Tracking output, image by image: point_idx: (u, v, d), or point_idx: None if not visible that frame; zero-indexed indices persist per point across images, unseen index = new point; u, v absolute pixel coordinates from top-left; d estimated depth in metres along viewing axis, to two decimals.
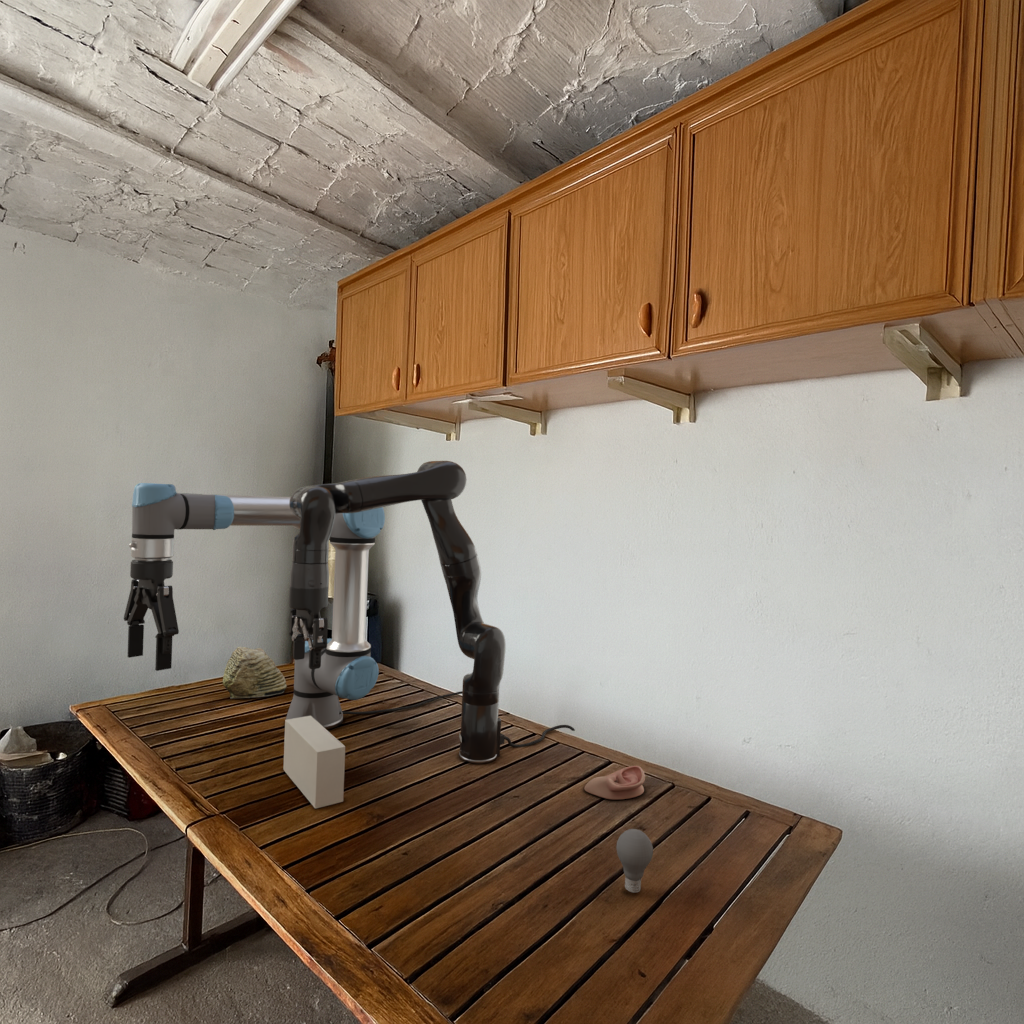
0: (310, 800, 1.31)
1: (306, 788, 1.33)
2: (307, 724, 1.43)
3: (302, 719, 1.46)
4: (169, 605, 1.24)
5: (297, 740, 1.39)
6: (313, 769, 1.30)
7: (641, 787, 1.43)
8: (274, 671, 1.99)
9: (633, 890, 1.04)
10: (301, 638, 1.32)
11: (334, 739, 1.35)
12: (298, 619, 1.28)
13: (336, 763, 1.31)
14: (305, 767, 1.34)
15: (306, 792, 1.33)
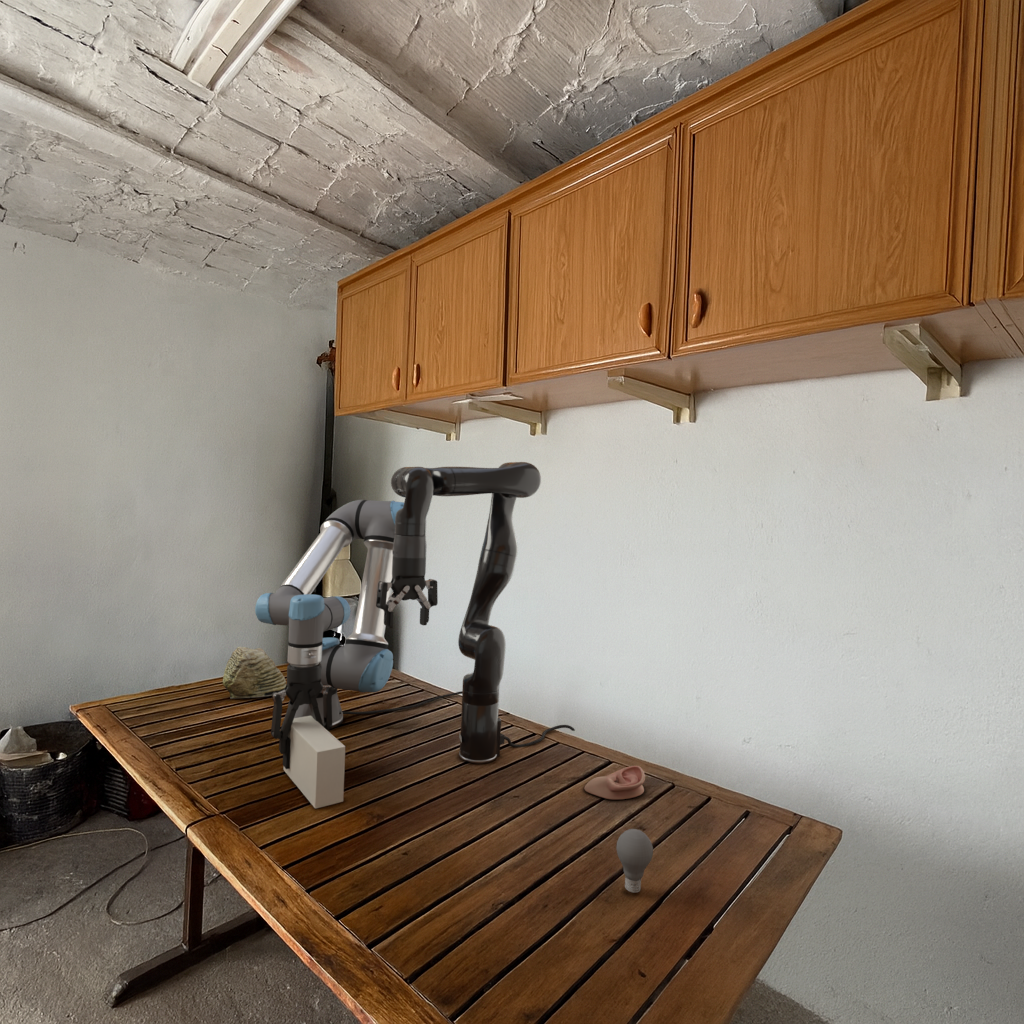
0: (310, 800, 1.31)
1: (306, 788, 1.33)
2: (307, 724, 1.43)
3: (302, 719, 1.46)
4: None
5: (297, 740, 1.39)
6: (313, 769, 1.30)
7: (641, 787, 1.43)
8: (274, 671, 1.99)
9: (633, 890, 1.04)
10: (424, 606, 1.46)
11: (334, 739, 1.35)
12: None
13: (336, 763, 1.31)
14: (305, 767, 1.34)
15: (306, 792, 1.33)
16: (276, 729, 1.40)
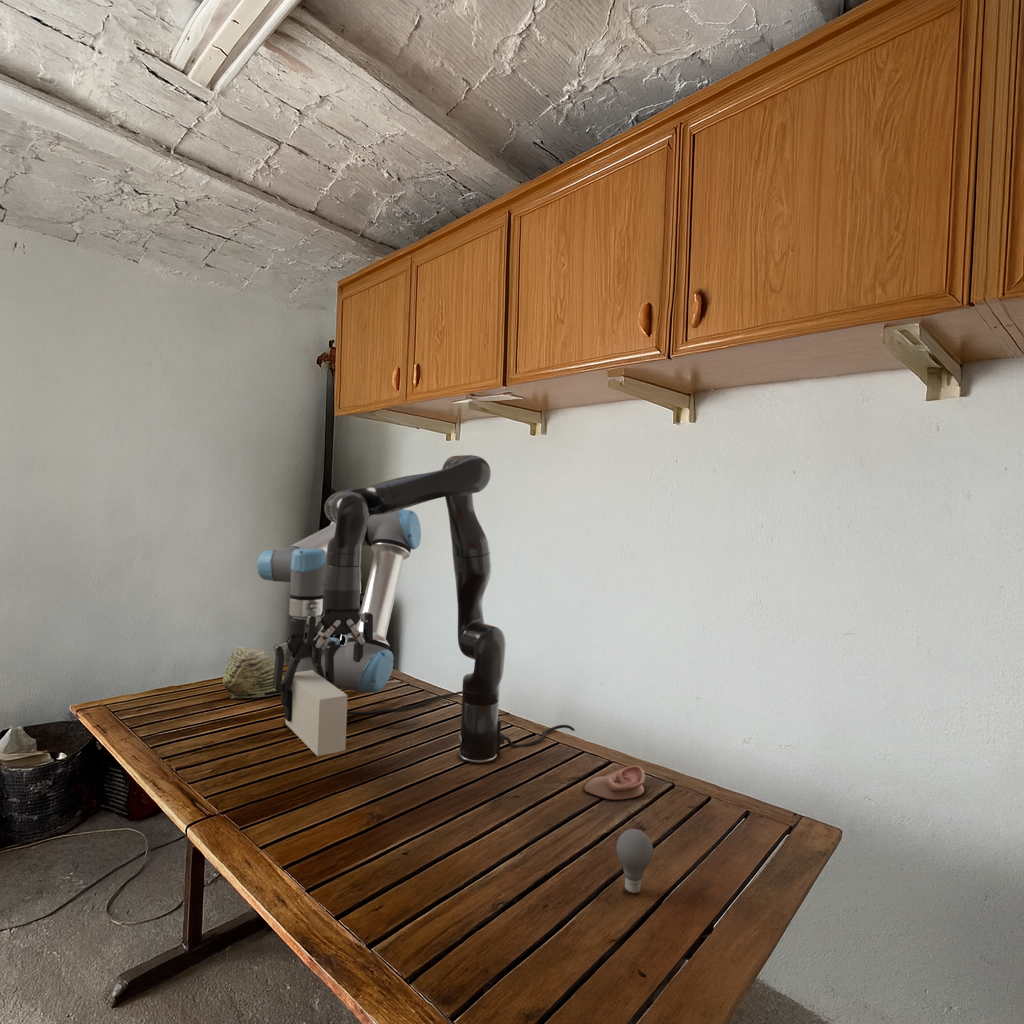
0: (312, 748, 1.31)
1: (308, 738, 1.33)
2: (309, 677, 1.43)
3: (304, 673, 1.46)
4: None
5: (299, 691, 1.38)
6: (316, 717, 1.30)
7: (641, 787, 1.43)
8: None
9: (633, 890, 1.04)
10: (357, 641, 1.35)
11: (336, 689, 1.35)
12: None
13: (338, 712, 1.31)
14: (307, 716, 1.34)
15: (308, 741, 1.33)
16: (278, 681, 1.40)
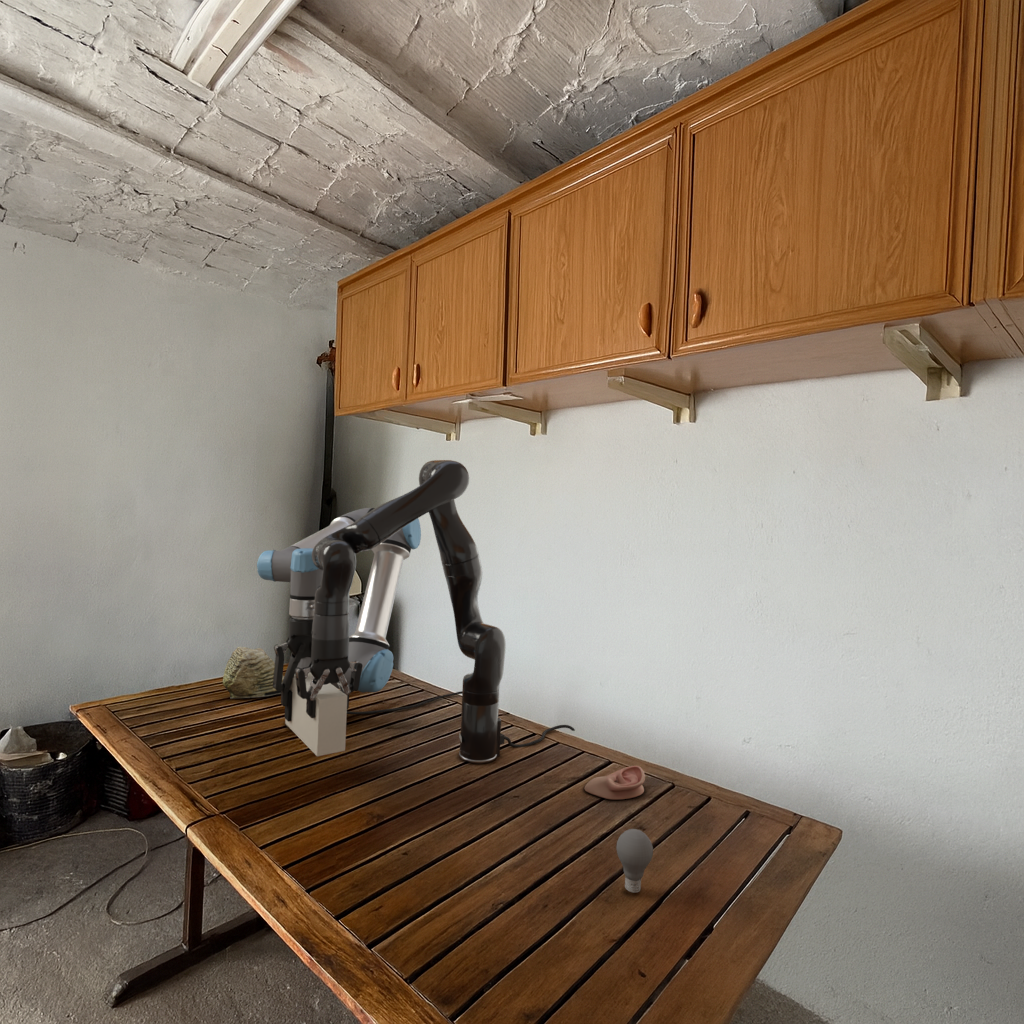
0: (312, 749, 1.31)
1: (308, 738, 1.33)
2: (309, 677, 1.43)
3: None
4: None
5: None
6: (315, 717, 1.30)
7: (641, 787, 1.43)
8: None
9: (633, 890, 1.04)
10: (343, 691, 1.34)
11: (336, 689, 1.35)
12: None
13: (338, 712, 1.31)
14: (307, 717, 1.34)
15: (307, 741, 1.33)
16: (278, 681, 1.40)
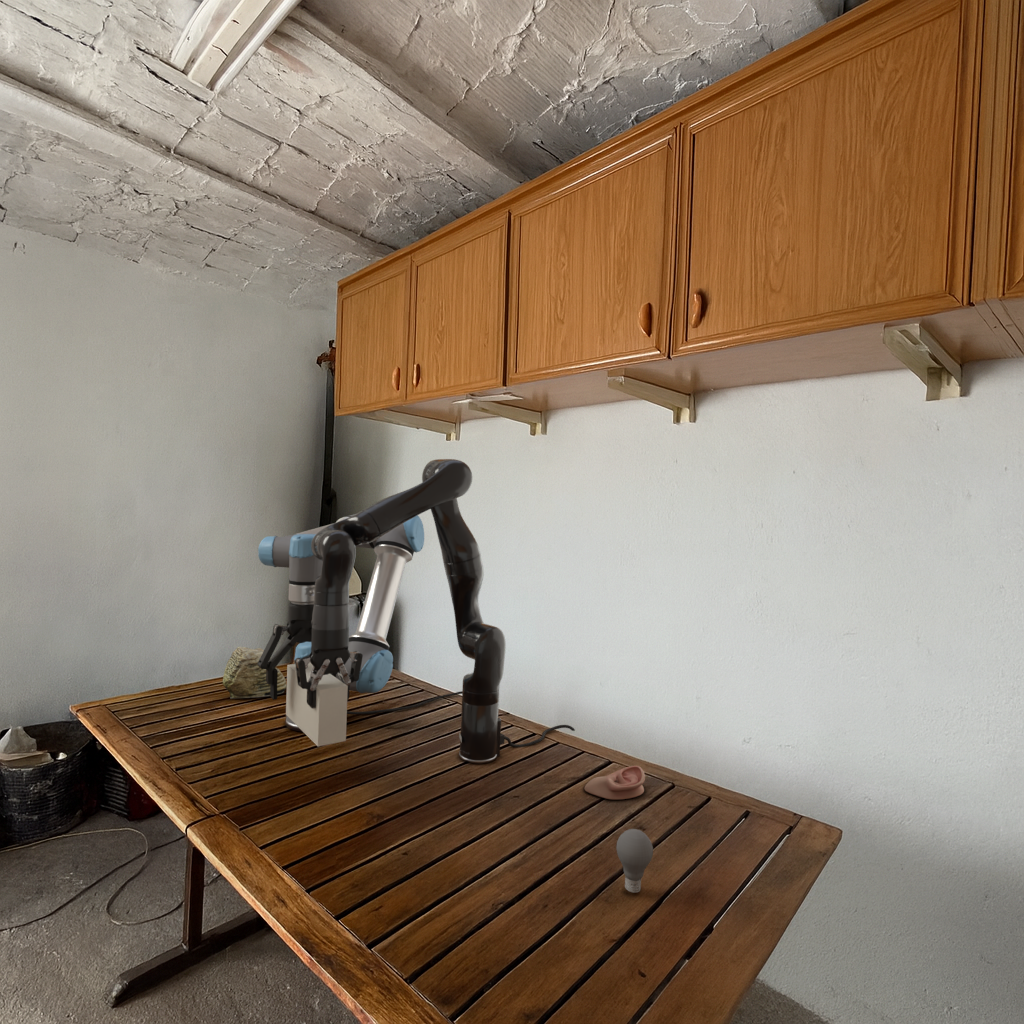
0: (313, 739, 1.31)
1: (309, 728, 1.33)
2: (309, 668, 1.43)
3: None
4: None
5: None
6: (316, 707, 1.30)
7: (641, 787, 1.43)
8: None
9: (633, 890, 1.04)
10: (343, 682, 1.34)
11: (336, 680, 1.35)
12: None
13: (338, 702, 1.31)
14: (307, 707, 1.34)
15: (308, 732, 1.33)
16: (265, 659, 1.40)
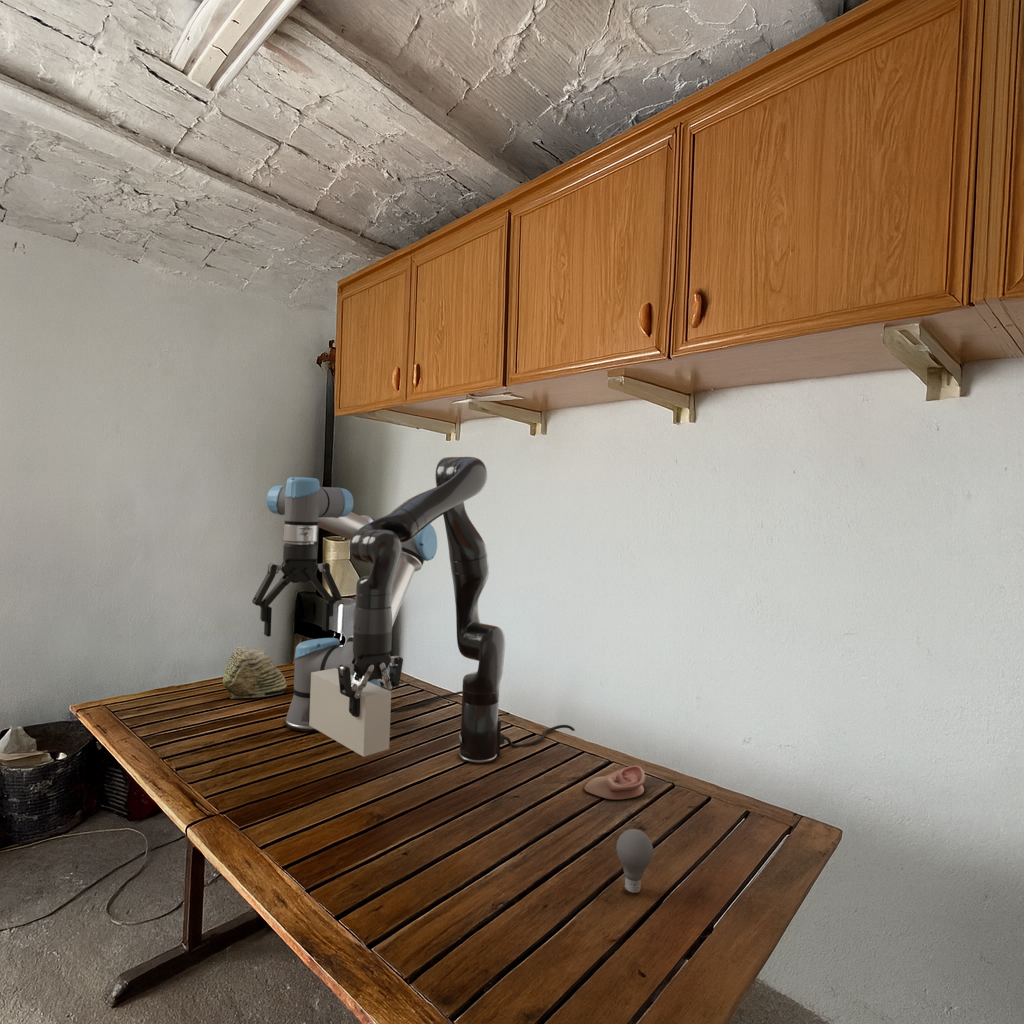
0: (355, 749, 1.24)
1: (348, 738, 1.26)
2: (337, 675, 1.36)
3: (329, 671, 1.38)
4: None
5: (331, 690, 1.31)
6: (360, 716, 1.23)
7: (641, 787, 1.43)
8: (274, 671, 1.99)
9: (633, 890, 1.04)
10: (384, 688, 1.28)
11: (375, 686, 1.29)
12: None
13: (382, 709, 1.25)
14: (345, 716, 1.27)
15: (347, 742, 1.26)
16: (260, 596, 1.43)
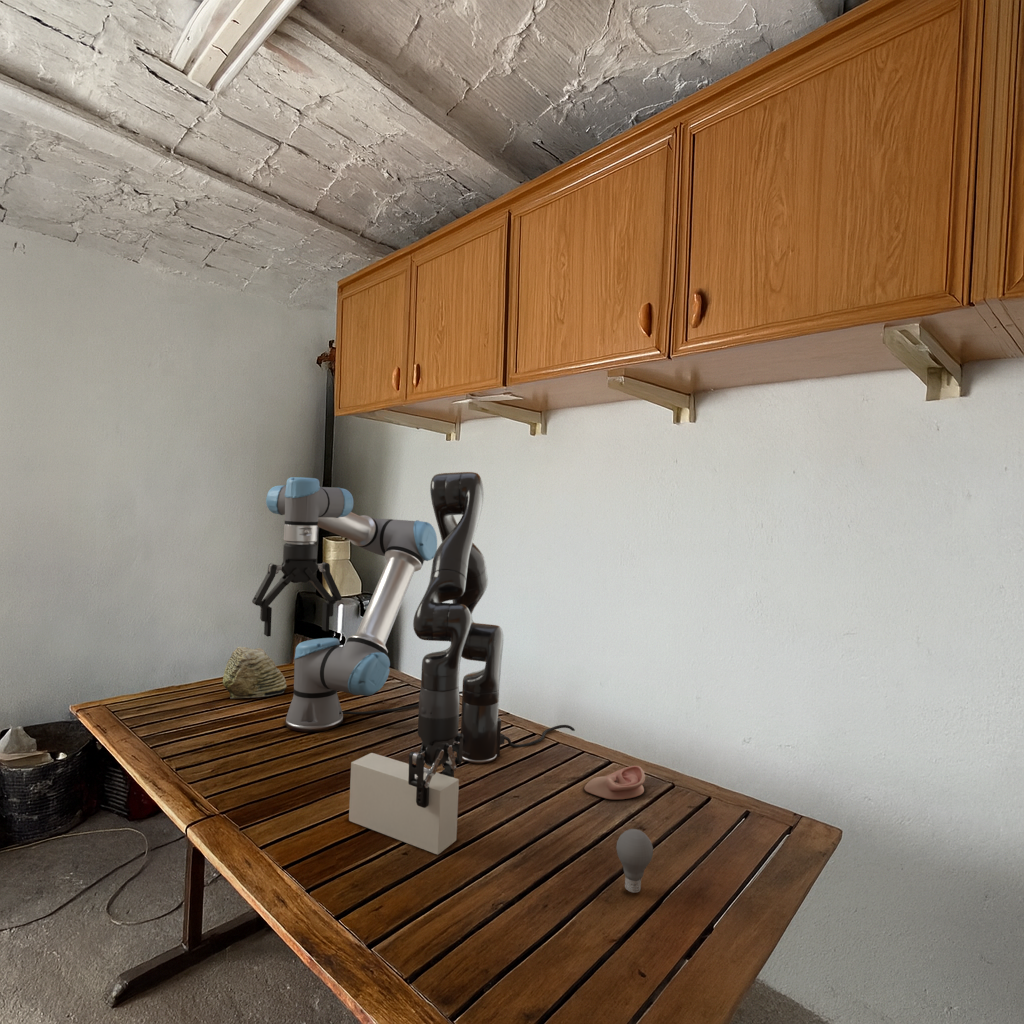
0: (425, 847, 1.15)
1: (413, 835, 1.17)
2: (383, 763, 1.24)
3: (370, 758, 1.26)
4: None
5: (386, 783, 1.20)
6: (432, 811, 1.15)
7: (641, 787, 1.43)
8: (274, 671, 1.99)
9: (633, 890, 1.04)
10: (449, 768, 1.21)
11: (436, 773, 1.21)
12: None
13: (452, 800, 1.17)
14: (409, 811, 1.17)
15: (412, 839, 1.17)
16: (260, 596, 1.43)
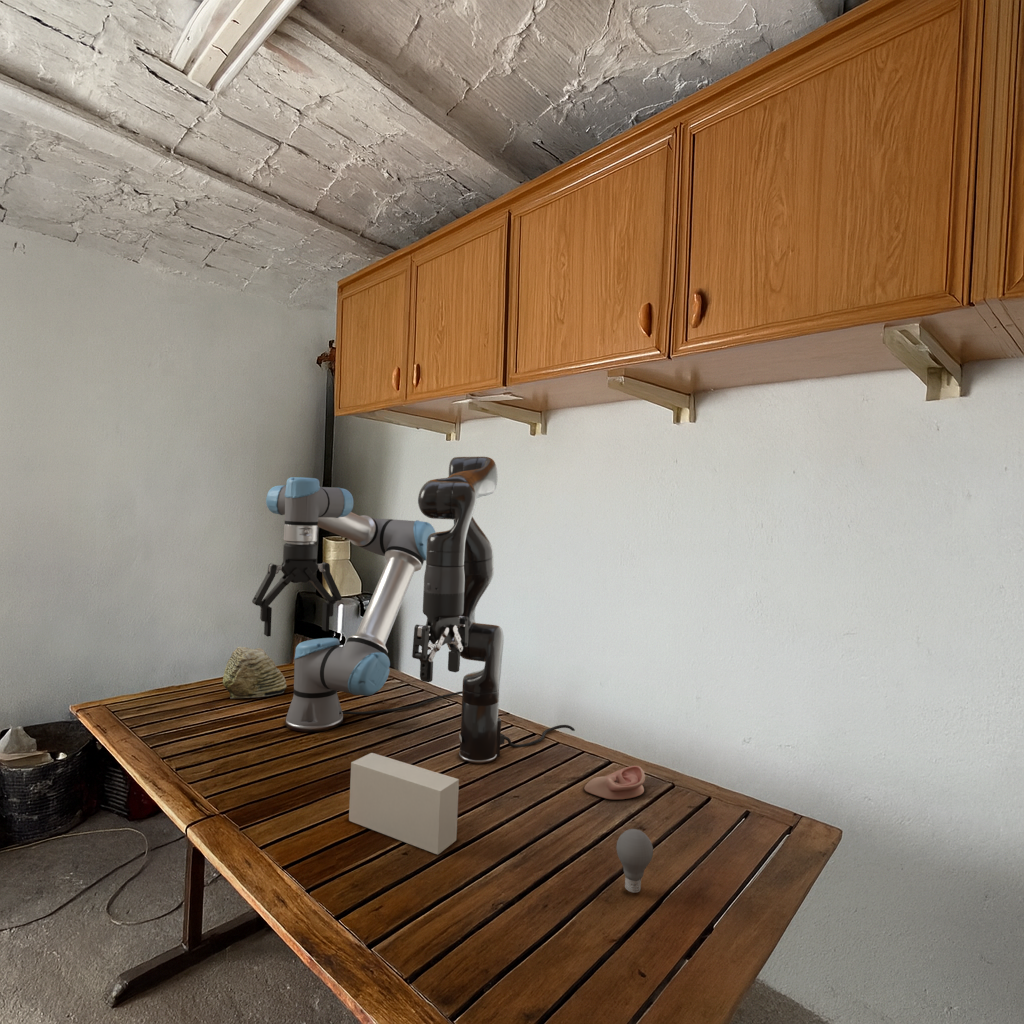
0: (425, 847, 1.15)
1: (413, 835, 1.17)
2: (383, 763, 1.24)
3: (370, 758, 1.26)
4: None
5: (386, 782, 1.20)
6: (432, 811, 1.15)
7: (641, 787, 1.43)
8: (274, 671, 1.99)
9: (633, 890, 1.04)
10: (455, 649, 1.21)
11: (436, 773, 1.21)
12: None
13: (452, 800, 1.17)
14: (409, 811, 1.17)
15: (412, 839, 1.17)
16: (260, 596, 1.43)
